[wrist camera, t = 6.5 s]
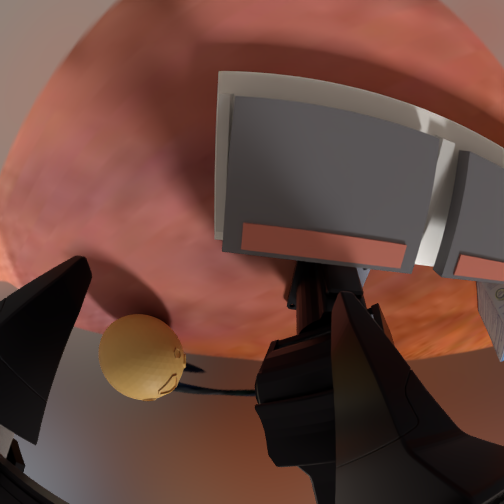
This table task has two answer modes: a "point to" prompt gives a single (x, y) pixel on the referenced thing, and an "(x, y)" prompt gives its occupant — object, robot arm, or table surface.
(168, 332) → the stress ball
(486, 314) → the medicine box
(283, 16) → the table surface
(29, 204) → the table surface
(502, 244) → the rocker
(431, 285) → the table surface
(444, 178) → the light switch base
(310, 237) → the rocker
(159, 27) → the table surface
